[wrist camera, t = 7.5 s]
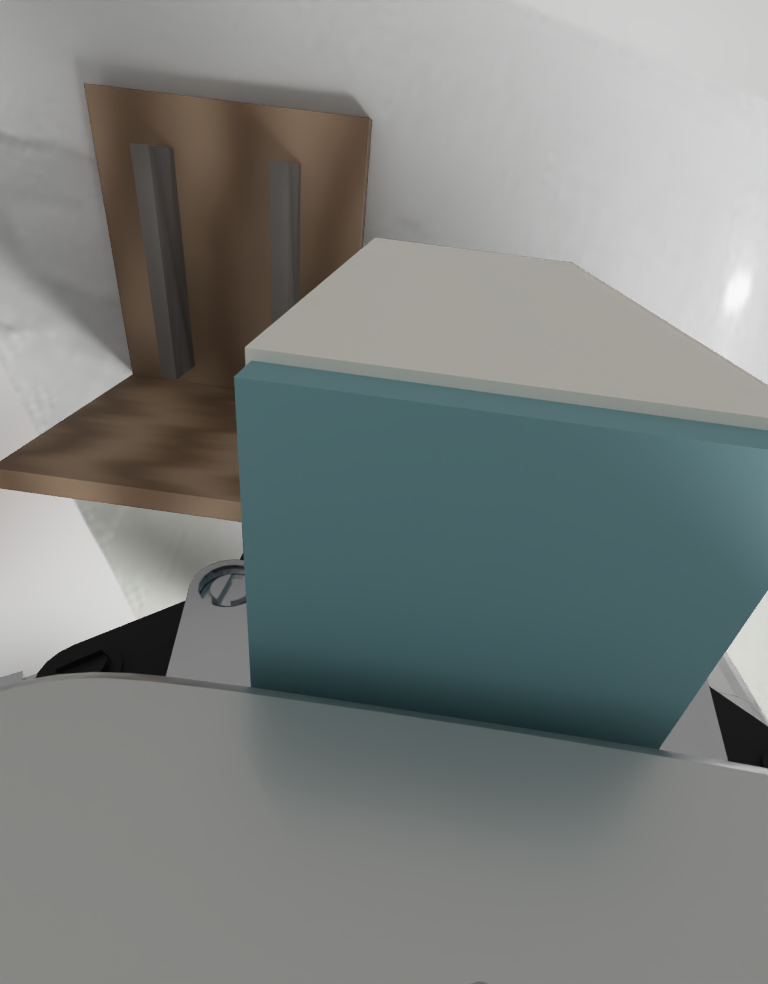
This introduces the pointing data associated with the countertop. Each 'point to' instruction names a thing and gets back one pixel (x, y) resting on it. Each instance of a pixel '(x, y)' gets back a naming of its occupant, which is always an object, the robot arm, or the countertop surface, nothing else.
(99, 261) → the countertop surface
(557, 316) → the teal book
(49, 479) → the wooden book stand
